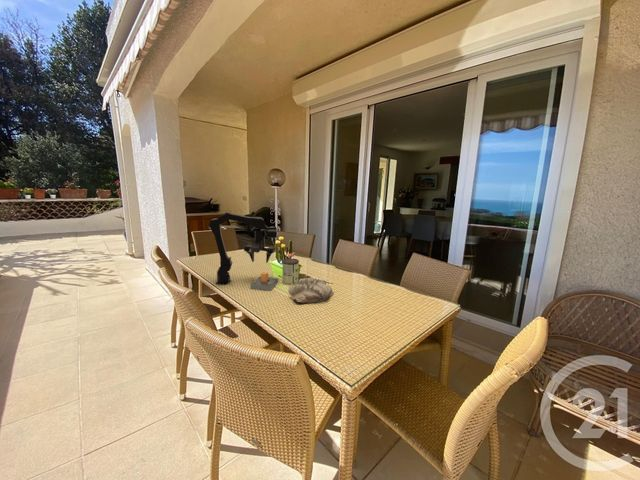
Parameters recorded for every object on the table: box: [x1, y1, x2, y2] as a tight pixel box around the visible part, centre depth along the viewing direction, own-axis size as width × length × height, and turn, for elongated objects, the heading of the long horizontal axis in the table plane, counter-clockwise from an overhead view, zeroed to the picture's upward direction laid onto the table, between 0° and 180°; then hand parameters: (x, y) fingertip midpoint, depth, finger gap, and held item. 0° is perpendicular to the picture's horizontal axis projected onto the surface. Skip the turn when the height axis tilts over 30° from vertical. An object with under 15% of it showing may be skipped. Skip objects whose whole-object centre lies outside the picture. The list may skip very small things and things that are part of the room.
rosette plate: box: [249, 275, 279, 292], centre depth 153 cm, size 12×14×4 cm
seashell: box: [288, 277, 335, 304], centre depth 141 cm, size 28×18×15 cm, turn 134°
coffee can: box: [281, 258, 300, 286], centre depth 160 cm, size 10×10×14 cm
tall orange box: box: [260, 271, 269, 283], centre depth 153 cm, size 3×3×8 cm
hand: (260, 262), depth 159 cm, fingers open, 9 cm apart
